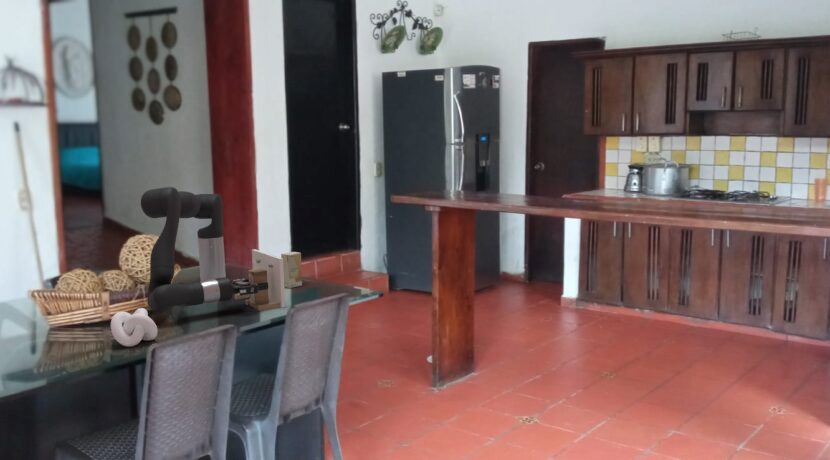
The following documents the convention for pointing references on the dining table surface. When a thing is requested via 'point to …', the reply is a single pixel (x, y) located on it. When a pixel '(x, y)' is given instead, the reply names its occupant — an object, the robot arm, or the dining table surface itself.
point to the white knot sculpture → (133, 327)
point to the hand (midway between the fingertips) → (262, 283)
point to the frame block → (262, 295)
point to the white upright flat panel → (269, 279)
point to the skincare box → (292, 269)
